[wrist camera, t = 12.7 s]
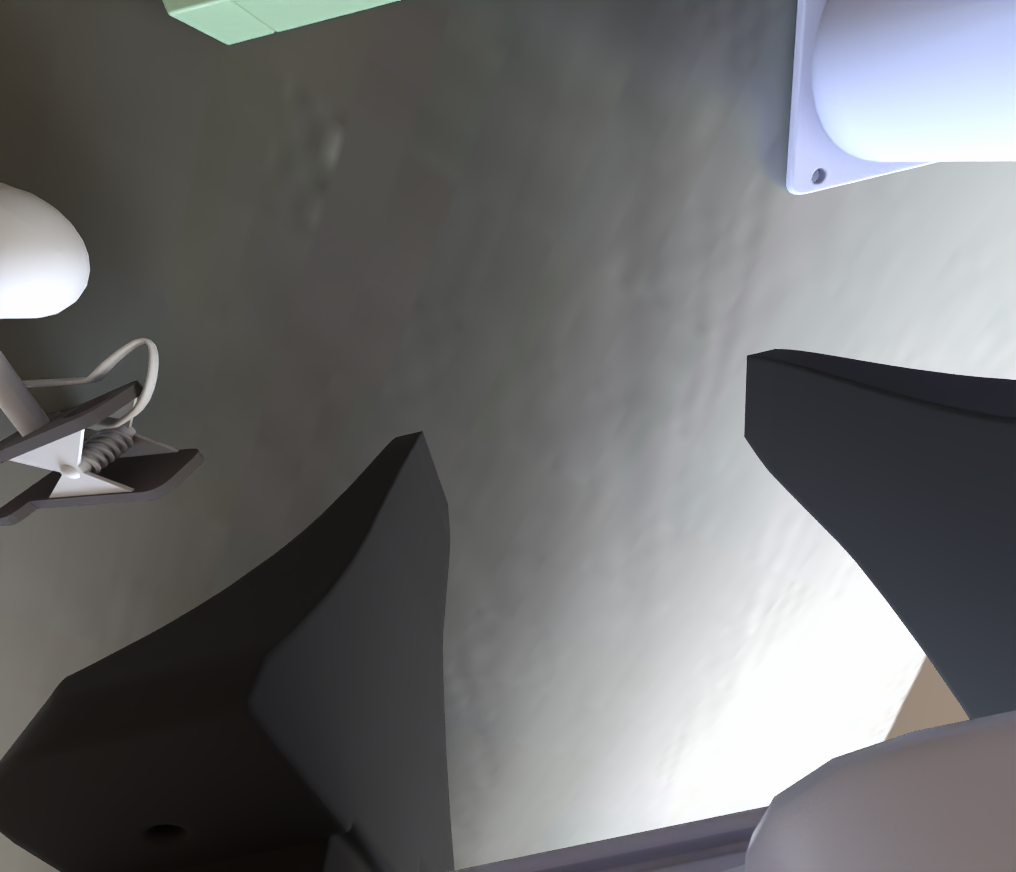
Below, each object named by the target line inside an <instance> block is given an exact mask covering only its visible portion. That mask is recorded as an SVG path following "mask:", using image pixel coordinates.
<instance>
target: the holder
mask: <svg viewBox="0 0 1016 872" xmlns="http://www.w3.org/2000/svg"><path fill="white" fill-rule="evenodd" d="M162 1H163V3H164V6H165V8H166V10H167V12H168V14H169V15H170V16H172V17H174V18H176V19H178V20H180V21H182V22H184V23H186V24H188V25H190V26H192V27H194V28H196V29H198V30H200V31H202V32H203V33H205V34H207V35H209V36H211V37H213V38H215V39H217V40H219V41H221V42H223V43H225V44H228V45H230V44H234V43H238V42H242V41H245V40H249V39H253V38H257V37H261V36H265V35H268V34H272V33H274V32H275V31H276V32H280V31H284V30H288V29H292V28H296V27H300V26H303V25H307V24H311V23H315V22H319V21H323V20H326V19H330V18H334V17H338V16H342V15H345V14H349V13H353V12H357V11H361V10H365V9H368V8H372V7H376V6H380V5H384V4H388V3H391V2H395V1H399V0H162Z"/></svg>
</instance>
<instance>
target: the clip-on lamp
mask: <svg viewBox="0 0 1016 872" xmlns="http://www.w3.org/2000/svg"><path fill="white" fill-rule="evenodd" d="M89 273H90V264H89V255H88V252H87V249H86V247H85V244H84V242H83V240H82V238H81V237H80V235H79V234H78V232H77V231H76V229H75V228H74V226H73V225H72V224H71V222H70V221H68V220H67V219H66V218H65V217H64V216H63V215H62V214H61V213H60V212H59V211H58V210H57V209H56V208H54V207H53V206H52V205H50V204H49V203H47V202H45V201H44V200H42V199H40V198H39V197H37V196H35V195H34V194H32V193H30V192H27V191H23V190H20V189H17V188H15V187H12V186H9V185H7V184H4V183H1V182H0V319H10V318H41V317H45V316H50V315H54V314H58V313H59V312H61V311H62V310H64V309H65V308H67V307H68V306H70V305H71V304H73V303H75V302H76V301H77V299H78V298H79V297H80V295H81V294H82V292H83V291H84V289H85V288H86V286H87V283H88V278H89ZM144 344H147V346H148V350H149V364H148V371H147V377H146V381H145V384H144V388H143V387H142V386H141V384H140V383H139V382H138V381H134V382H131V383H129V384H127V385H124V386H122V387H120V388H117V389H115V390H113V391H111V392H108V393H106V394H104V395H101V396H99V397H97V398H95V399H92V400H90V401H88V402H85V403H83V404H81V405H79V406H76V407H74V408H72V409H69V410H67V411H65V412H63V413H61V412H60V411H57V412H54V413H51V414H48V415H46V414H45V412H44V411H43V410H42V408H41V407H40V405H39V404H38V403H37V401H36V400H35V398H34V397H33V395H32V394H31V393H30V391H29V390H28V388H32V387H48V386H63V385H77V384H87V383H93V382H97V381H100V380H102V379H103V378H104V377H105V376H106V374H107V373H108V372H109V371H110V370H111V369H112V368H113V367H114V366H115V365H116V364H117V363H118V362H119V361H120V360H121V359H122V358H124V357H125V356H126V355H127V354H128V353H130V352H131V351H132V350H134V349H135V348H137V347H139V346H141V345H144ZM158 366H159V360H158V351H157V348H156V345H155V344H154V343H153V342H152V341H151V340H149V339H146V338H139V339H136V340H133V341H131V342H129V343H128V344H126V345H124V346H123V347H121V348H120V349H118V350H117V351H116V352H114V353H113V354H112V355H110V356H109V357H108V358H107V359H106V360H104V361H103V362H102V363H101V364H100V365H99V366H98V367H97V368H96V369H94V371H93V372H92V373H91V374H90V375H89V376H88V377H75V378H59V379H43V380H27V381H22V380H21V379H20V377H19V376H18V374H17V373H16V372H15V370H14V369H13V367H12V366H11V365H10V363H9V362H8V360H7V359H6V358H5V356H4V355H3V353H2V352H1V351H0V408H1V409H2V411H3V412H4V413H5V415H6V416H7V417H8V419H9V420H10V421H11V422H12V424H13V425H14V426H15V428H16V429H17V430H18V432H16V433H14V434H12V435H11V436H9V437H7V438H6V439H4V440H2V441H1V442H0V463H3V462H5V461H8V460H11V461H15V462H19V463H23V464H28V465H32V466H36V467H40V468H44V469H49V470H53V471H52V472H51V473H49V474H48V475H47V476H45V477H44V478H42V479H41V480H40V481H38V482H37V483H35V484H34V485H32V486H31V487H30V488H28V489H27V490H25V491H24V492H23V493H21V494H20V495H18V496H17V497H16V498H14V499H13V500H11V501H10V502H8V503H7V504H6V505H4V506H3V507H1V508H0V526H9V525H13V524H16V523H18V522H20V521H21V520H23V519H24V518H26V517H27V516H28V515H30V514H31V513H32V512H34V511H35V510H36V509H40V508H53V507H67V506H81V505H94V504H108V503H121V502H135V501H149V500H154V499H157V498H160V497H162V496H164V495H166V494H168V493H170V492H171V491H173V490H174V489H175V488H177V487H178V486H179V485H180V484H181V483H182V482H183V481H184V480H185V479H186V478H187V477H188V476H189V475H190V474H191V473H192V472H193V471H194V470H196V469H197V468H198V467H199V466H200V465H201V463H202V462H203V461H204V458H203V456H202V454H201V453H200V452H199V450H198V449H184V450H178V449H175V448H173V447H170V446H168V445H165V444H163V443H160V442H158V441H155V440H152V439H150V438H147V437H145V436H142V435H140V434H137V433H136V431H135V430H134V428H133V427H132V421H133V417H135V416H136V415H138V414H139V413H140V412H141V411H142V410H143V409H144V408H145V406H146V405H147V404H148V402H149V401H150V399H151V396H152V394H153V391H154V389H155V384H156V380H157V375H158ZM138 396H140V397H139V399H138V401H137V397H138ZM136 401H137V402H136ZM86 428H87V429H92V430H96V431H97V432H96V433H95V434H94V435H92V436H90V437H89V438H88V439H87V440H84V441H83V439H84V431H85V429H86Z"/></svg>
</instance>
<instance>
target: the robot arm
mask: <svg viewBox="0 0 1016 872" xmlns="http://www.w3.org/2000/svg"><path fill="white" fill-rule="evenodd" d="M940 161H1016V0H798V6H797V21H796V37H795V52H794V68H793V83H792V99H791V114H790V130H789V146H788V161H787V177H786V186H787V189H788V191H789V192H790V193H792V194H807V193H811V192H815V191H819V190H824V189H828V188H832V187H836V186H840V185H844V184H848V183H853V182H857V181H861V180H865V179H869V178H873V177H878V176H882V175H886V174H890V173H894V172H898V171H903V170H907V169H911V168H915V167H919V166H923V165H928V164H932V163H936V162H940ZM817 169H818V170H819V177H818V179H817V180H816V182H814V183H813V182H812V175H813V173H814V172H815V170H817ZM744 437H745V438H746V440H747V441H748V443H749V444H750V446H751V447H752V449H753V450H754V452H755V453H756V455H757V456H758V457H759V459H760V460H761V461H762V463H763V464H764V465H765V467H766V468H767V469H768V471H769V472H770V473H771V474H772V475H773V476H774V477H775V478H776V479H777V480H778V481H779V482H780V483H781V484H782V485H783V486H784V488H785V489H786V490H787V491H788V492H789V493H790V494H791V495H792V496H793V497H794V498H795V499H796V500H797V501H798V502H799V503H800V504H801V505H802V506H803V507H804V508H805V509H806V510H807V511H808V512H809V513H810V514H811V515H812V516H813V517H814V518H815V519H816V520H817V521H818V522H819V523H820V524H821V525H822V526H823V527H824V528H825V529H826V530H827V531H828V532H829V533H830V534H831V535H832V536H833V537H834V538H835V539H836V540H837V541H838V542H839V543H840V545H841V546H842V547H843V548H844V549H845V550H846V551H847V552H848V553H849V555H850V556H851V557H852V558H853V559H854V560H855V561H856V562H857V564H858V565H859V566H860V568H861V569H862V570H863V571H864V573H865V574H866V575H867V576H868V578H869V579H870V580H871V581H872V583H873V584H874V585H875V587H876V588H877V589H878V590H879V592H880V593H881V594H882V595H883V597H884V598H885V599H886V600H887V602H888V603H889V604H890V606H891V607H892V609H893V610H894V611H895V613H896V614H897V615H898V617H899V618H900V619H901V621H902V622H903V623H904V625H905V626H906V627H907V629H908V630H909V632H910V633H911V634H912V636H913V637H914V638H915V640H916V641H917V642H918V644H919V645H920V646H921V648H922V649H923V651H924V652H925V654H926V655H927V657H928V658H929V659H930V661H931V662H932V664H933V665H934V667H935V668H936V670H937V671H938V673H939V674H940V675H941V677H942V678H943V680H944V681H945V683H946V684H947V686H948V687H949V689H950V690H951V691H952V693H953V694H954V696H955V697H956V699H957V700H958V702H959V703H960V705H961V706H962V708H963V709H964V711H965V712H966V714H967V716H968V717H969V719H970V720H966V721H962V722H957V723H952V724H947V725H942V726H938V727H934V728H928V729H923V730H919V731H914V732H910V733H907V734H904V735H902V736H898V737H896V738H893V739H890V740H887V741H884V742H881V743H878V744H875V745H872V746H869V747H866V748H863V749H860V750H857V751H854V752H851V753H848V754H845V755H842V756H839V757H836V758H833V759H832V760H830V761H829V762H827V763H825V764H824V765H822V766H821V767H819V768H818V769H816V770H815V771H813V772H812V773H810V774H809V775H807V776H806V777H804V778H803V779H801V780H800V781H798V782H797V783H795V784H793V785H792V786H790V787H789V788H787V789H786V790H784V791H783V792H781V793H780V794H778V795H777V796H775V797H774V799H773V800H772V802H771V804H770V805H769V806H767V807H762V808H757V809H752V810H747V811H743V812H738V813H733V814H728V815H723V816H718V817H713V818H708V819H704V820H699V821H694V822H689V823H684V824H679V825H674V826H670V827H665V828H660V829H655V830H650V831H645V832H640V833H635V834H631V835H626V836H621V837H616V838H611V839H606V840H601V841H596V842H592V843H587V844H582V845H577V846H572V847H567V848H562V849H558V850H553V851H548V852H543V853H538V854H533V855H528V856H523V857H519V858H514V859H509V860H504V861H499V862H494V863H489V864H484V865H480V866H475V867H470V868H465V869H460V870H455V871H454V859H453V846H452V833H451V820H450V806H449V789H448V773H447V756H446V736H445V713H444V685H443V628H444V616H445V604H446V591H447V579H448V567H449V553H450V527H449V513H448V503H447V500H446V497H445V494H444V492H443V489H442V486H441V483H440V480H439V477H438V474H437V471H436V469H435V466H434V463H433V460H432V457H431V454H430V451H429V448H428V446H427V443H426V440H425V437H424V434H423V431H421V432H417V433H413V434H408V435H404V436H400V437H396V438H395V439H393V440H392V441H391V442H390V443H389V444H388V445H387V446H386V447H385V448H384V449H383V450H382V452H381V453H380V454H379V455H378V456H377V457H376V458H375V459H374V460H373V462H372V463H371V464H370V465H369V466H368V467H367V468H366V469H365V470H364V472H363V473H362V474H361V475H360V476H359V477H358V478H357V479H356V480H355V481H354V482H353V484H352V485H351V486H350V487H349V488H348V489H347V490H346V491H345V492H344V493H343V494H342V495H341V496H340V497H339V498H338V499H337V500H336V501H335V502H334V503H333V504H332V505H331V506H330V507H329V508H328V509H327V510H326V511H325V512H324V513H323V514H322V515H321V516H320V517H318V518H317V519H316V520H315V521H314V522H313V523H312V524H311V525H310V526H308V527H307V528H306V529H305V530H304V531H303V532H301V533H300V534H299V535H298V536H297V537H295V538H294V539H293V540H292V541H291V542H289V543H288V544H287V545H286V546H284V547H283V548H282V549H281V550H279V551H278V552H277V553H275V554H274V555H273V556H271V557H270V558H269V559H267V560H266V561H264V562H263V563H262V564H260V565H259V566H257V567H256V568H255V569H253V570H252V571H250V572H249V573H247V574H246V575H245V576H243V577H242V578H240V579H239V580H238V581H236V582H235V583H233V584H232V585H231V586H229V587H228V588H226V589H224V590H223V591H221V592H220V593H218V594H217V595H215V596H213V597H212V598H210V599H209V600H207V601H206V602H204V603H202V604H201V605H199V606H198V607H196V608H194V609H192V610H191V611H189V612H187V613H186V614H184V615H182V616H181V617H179V618H177V619H176V620H174V621H172V622H170V623H169V624H167V625H165V626H163V627H162V628H160V629H158V630H156V631H155V632H153V633H151V634H149V635H147V636H145V637H144V638H142V639H140V640H138V641H136V642H134V643H132V644H130V645H128V646H126V647H124V648H123V649H121V650H119V651H117V652H115V653H113V654H111V655H109V656H107V657H105V658H103V659H101V660H100V661H98V662H96V663H94V664H92V665H90V666H88V667H86V668H84V669H82V670H80V671H78V672H76V673H74V674H72V675H70V676H68V677H66V678H65V679H64V680H63V681H62V682H61V683H60V684H59V685H58V687H57V688H56V689H55V691H54V692H53V693H52V695H51V696H50V697H49V699H48V700H47V701H46V703H45V704H44V705H43V706H42V708H41V709H40V710H39V712H38V713H37V714H36V716H35V717H34V718H33V719H32V721H31V722H30V723H29V725H28V726H27V727H26V728H25V730H24V731H23V732H22V734H21V735H20V736H19V737H18V739H17V740H16V741H15V743H14V744H13V745H12V746H11V748H10V749H9V750H8V752H7V753H6V754H5V756H4V757H3V758H2V759H1V761H0V832H1V833H2V834H4V835H5V836H6V837H7V838H9V839H10V840H11V841H12V842H14V843H15V844H17V845H18V846H20V847H21V848H23V849H25V850H26V851H28V852H29V853H31V854H33V855H34V856H36V857H38V858H39V859H41V860H42V861H44V862H46V863H47V864H49V865H50V866H52V867H54V868H55V869H57V870H59V871H60V872H1016V380H1010V379H997V378H984V377H974V376H964V375H955V374H947V373H940V372H932V371H925V370H917V369H910V368H903V367H897V366H890V365H884V364H878V363H872V362H866V361H860V360H855V359H849V358H843V357H837V356H831V355H825V354H819V353H813V352H805V351H798V350H787V349H774V350H769V351H765V352H761V353H757V354H752V355H748V356H747V374H746V405H745V435H744Z"/></svg>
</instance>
